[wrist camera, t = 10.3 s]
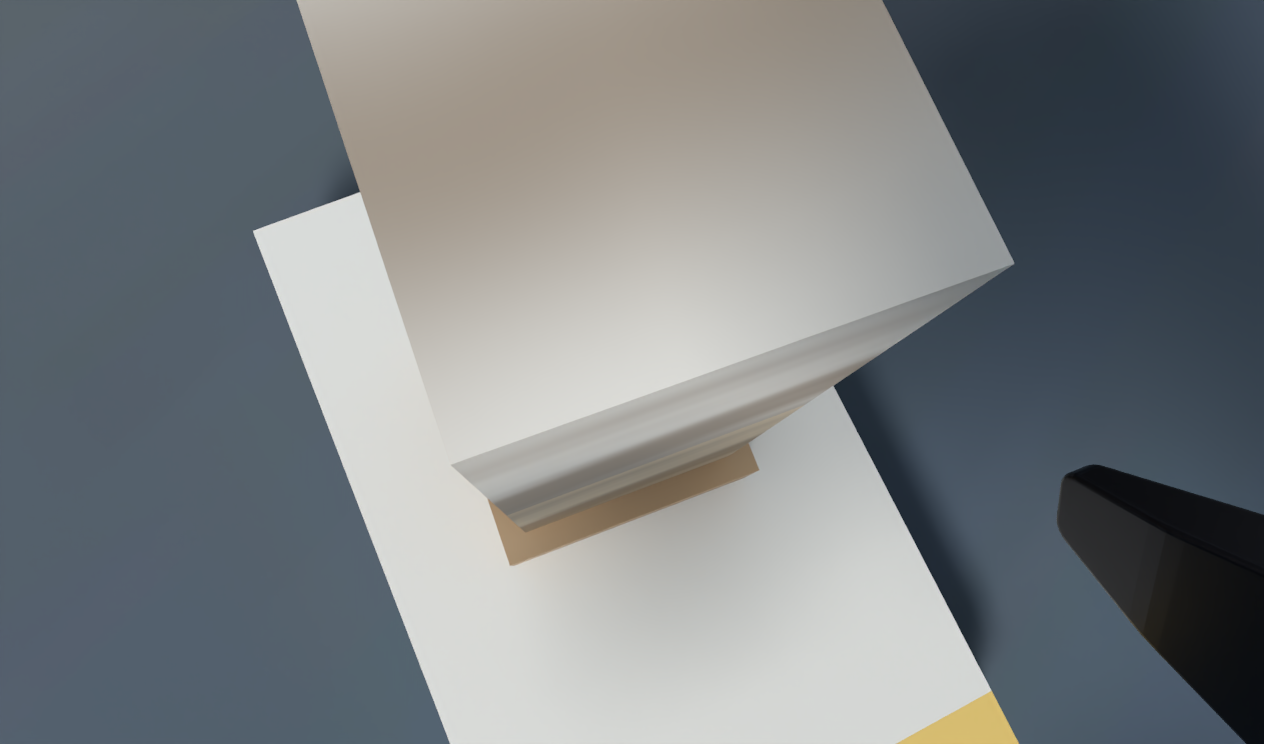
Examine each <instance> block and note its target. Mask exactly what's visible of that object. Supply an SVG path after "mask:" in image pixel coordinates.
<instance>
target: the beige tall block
mask: <svg viewBox="0 0 1264 744" xmlns="http://www.w3.org/2000/svg"><path fill="white" fill-rule="evenodd" d="M297 3H298V6H299V9H300V12H301V15H302V18H303V21H304V24H305V27H306V30H307V33H308V36H309V39H310V42H311V45H312V48H313V51H314V54H315V57H316V60H317V63H318V66H319V69H320V72H321V75H322V78H323V81H324V84H325V87H326V90H327V93H328V96H329V99H330V102H331V105H332V108H333V111H334V114H335V117H336V120H337V123H338V127H339V130H340V133H341V136H342V139H343V142H344V145H345V148H346V151H347V154H348V157H349V160H350V163H351V166H352V169H353V172H354V175H355V178H356V181H357V184H358V187H359V190H360V193H361V196H362V199H363V202H364V205H365V208H366V211H367V214H368V217H369V220H370V223H371V226H372V229H373V232H374V235H375V238H376V241H377V245H378V248H379V251H380V254H381V257H382V260H383V263H384V266H385V269H386V272H387V275H388V278H389V281H390V284H391V287H392V290H393V293H394V296H395V299H396V302H397V305H398V308H399V311H400V314H401V317H402V320H403V323H404V326H405V329H406V332H407V335H408V338H409V341H410V344H411V347H412V350H413V353H414V356H415V359H416V362H417V366H418V369H419V372H420V375H421V378H422V381H423V384H424V387H425V390H426V393H427V396H428V399H429V402H430V405H431V408H432V411H433V414H434V417H435V420H436V423H437V426H438V429H439V432H440V435H441V438H442V441H443V444H444V447H445V450H446V453H447V456H448V459H449V462H450V465H451V466H452V467H453V468H454V469H455V470H457V471H458V472H459V473H460V474H461V475H462V476H463V477H464V478H465V479H467V480H468V481H469V482H470V483H471V484H472V485H473V486H474V487H475V488H477V489H478V490H479V491H480V492H481V493H482V494H483V495H484V496H485V497H487V499H488V502H489V505H490V508H491V511H492V514H493V517H494V520H495V523H496V526H497V529H498V532H499V535H500V538H501V541H502V544H503V547H504V550H505V553H506V556H507V559H508V562H509V565H510V566H515V565H518V564H520V563H523V562H525V561H528V560H531V559H533V558H536V557H538V556H541V555H544V554H546V553H549V552H552V551H554V550H557V549H559V548H562V547H565V546H567V545H570V544H572V543H575V542H578V541H580V540H583V539H586V538H588V537H591V536H593V535H596V534H599V533H601V532H604V531H606V530H609V529H612V528H614V527H617V526H619V525H622V524H625V523H627V522H630V521H633V520H635V519H638V518H640V517H643V516H646V515H648V514H651V513H653V512H656V511H659V510H661V509H664V508H667V507H669V506H672V505H674V504H677V503H680V502H682V501H685V500H687V499H690V498H693V497H695V496H698V495H700V494H703V493H706V492H708V491H711V490H714V489H716V488H719V487H721V486H724V485H727V484H729V483H732V482H734V481H737V480H740V479H742V478H745V477H747V476H749V475H751V474H753V473H755V472H757V471H759V468H758V465H757V463H756V460H755V458H754V455H753V453H752V450H751V448H750V446H749V442H751V441H752V440H754V439H755V438H756V437H758V436H759V435H761V434H762V433H764V432H765V431H767V430H768V429H770V428H771V427H773V426H774V425H776V424H777V423H779V422H780V421H782V420H783V419H785V418H786V417H788V416H789V415H791V414H792V413H794V412H795V411H797V410H798V409H800V408H801V407H802V406H804V405H805V404H807V403H808V402H810V401H811V400H813V399H814V398H816V397H817V396H819V395H820V394H822V393H823V392H825V391H826V390H828V389H829V388H831V387H832V386H834V385H835V384H837V383H838V382H840V381H841V380H843V379H844V378H846V377H847V376H848V375H850V374H851V373H853V372H854V371H856V370H857V369H859V368H860V367H862V366H863V365H865V364H866V363H868V362H869V361H871V360H872V359H874V358H875V357H877V356H878V355H880V354H881V353H883V352H884V351H886V350H887V349H889V348H890V347H892V346H893V345H895V344H896V343H897V342H899V341H900V340H902V339H903V338H905V337H906V336H908V335H909V334H911V333H912V332H914V331H915V330H917V329H918V328H920V327H921V326H923V325H924V324H926V323H927V322H929V321H930V320H932V319H933V318H935V317H936V316H938V315H939V314H941V313H942V312H943V311H945V310H946V309H948V308H949V307H951V306H952V305H954V304H955V303H957V302H958V301H960V300H961V299H963V298H964V297H966V296H967V295H969V294H970V293H972V292H973V291H975V290H976V289H978V288H979V287H981V286H982V285H984V284H985V283H987V282H988V281H989V280H991V279H992V278H994V277H995V276H997V275H998V274H1000V273H1001V272H1003V271H1004V270H1006V269H1007V268H1009V267H1010V266H1012V265H1013V264H1015V263H1014V261H1013V259H1012V257H1011V255H1010V253H1009V251H1008V249H1007V247H1006V245H1005V243H1004V241H1003V239H1002V237H1001V235H1000V233H999V231H998V229H997V227H996V225H995V223H994V221H993V219H992V217H991V216H990V214H989V212H988V210H987V208H986V206H985V204H984V202H983V200H982V198H981V196H980V194H979V192H978V190H977V188H976V186H975V184H974V182H973V180H972V178H971V176H970V174H969V172H968V170H967V168H966V166H965V164H964V162H963V160H962V158H961V156H960V154H959V152H958V150H957V148H956V146H955V144H954V142H953V140H952V138H951V136H950V134H949V132H948V130H947V128H946V126H945V124H944V122H943V120H942V118H941V116H940V114H939V112H938V110H937V108H936V106H935V104H934V102H933V100H932V98H931V96H930V94H929V92H928V90H927V88H926V86H925V84H924V82H923V80H922V78H921V76H920V74H919V72H918V70H917V68H916V67H915V65H914V63H913V61H912V59H911V57H910V55H909V53H908V51H907V49H906V47H905V45H904V43H903V41H902V39H901V37H900V35H899V33H898V31H897V29H896V27H895V25H894V23H893V21H892V19H891V17H890V15H889V13H888V11H887V9H886V7H885V5H884V3H883V1H882V0H297Z"/></svg>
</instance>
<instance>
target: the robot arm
mask: <svg viewBox="0 0 1264 744" xmlns="http://www.w3.org/2000/svg"><path fill="white" fill-rule="evenodd" d="M1057 525H1058V528H1059V531H1060V533H1061V535H1062V537H1063V538H1064V540H1065V541H1066V542H1067V543H1068V545H1069V546H1070V547H1071V548H1072V550H1073V551H1074V552H1075V553H1076V555H1077V556H1078V557H1079V558H1080V560H1081V561H1082V562H1083V563H1084V565H1085V566H1086V567H1087V568H1088V570H1089V571H1090V572H1091V573H1092V575H1093V576H1094V577H1095V578H1096V580H1097V581H1098V582H1099V583H1100V585H1101V586H1102V587H1103V588H1104V590H1105V591H1106V592H1107V593H1108V595H1109V596H1110V597H1111V598H1112V600H1113V601H1114V602H1115V603H1116V605H1117V606H1118V607H1119V608H1120V610H1121V611H1122V612H1123V613H1124V615H1125V616H1126V617H1127V618H1128V620H1129V621H1130V622H1131V623H1132V624H1133V625H1134V627H1135V628H1136V629H1137V630H1138V631H1139V632H1140V634H1141V635H1142V636H1143V637H1144V638H1145V639H1146V640H1147V641H1148V642H1149V643H1150V645H1151V646H1152V647H1153V648H1154V649H1155V650H1156V651H1157V652H1158V653H1159V654H1160V655H1161V656H1162V657H1163V658H1164V659H1165V660H1166V661H1167V662H1168V663H1169V664H1170V666H1171V667H1172V668H1173V669H1174V670H1175V671H1176V672H1177V673H1178V674H1179V675H1180V676H1181V677H1182V678H1183V679H1184V680H1185V681H1186V682H1187V683H1188V684H1189V685H1190V686H1191V687H1192V688H1193V689H1194V690H1195V691H1196V692H1197V693H1198V694H1199V695H1200V696H1201V698H1202V699H1203V700H1204V701H1205V702H1206V703H1207V704H1208V705H1209V706H1210V707H1211V708H1212V709H1213V710H1214V711H1215V712H1216V713H1217V714H1218V715H1219V716H1220V717H1221V718H1222V719H1223V720H1224V721H1225V722H1226V723H1227V724H1228V725H1229V726H1230V727H1231V729H1232V730H1233V731H1234V732H1235V733H1236V734H1237V735H1238V736H1239V737H1240V738H1241V739H1242V740H1243V741H1244V742H1245V743H1246V744H1264V515H1263V514H1259V513H1256V512H1253V511H1249V510H1246V509H1243V508H1240V507H1236V506H1233V505H1230V504H1226V503H1223V502H1220V501H1216V500H1213V499H1210V498H1207V497H1203V496H1200V495H1197V494H1193V493H1190V492H1187V491H1184V490H1180V489H1177V488H1174V487H1170V486H1167V485H1164V484H1161V483H1157V482H1154V481H1151V480H1147V479H1144V478H1141V477H1138V476H1134V475H1131V474H1128V473H1124V472H1121V471H1118V470H1115V469H1111V468H1108V467H1105V466H1101V465H1088V466H1085V467H1082V468H1080V469H1077V470H1075V471H1073V472H1070V473H1068V474H1066V475H1065V476H1064V477H1063V479H1062V482H1061V487H1060V495H1059V503H1058V511H1057Z"/></svg>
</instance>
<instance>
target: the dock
mask: <svg viewBox="0 0 1264 744" xmlns="http://www.w3.org/2000/svg"><path fill="white" fill-rule="evenodd" d="M253 232H254V235H255V238H256V240H257V243H258V245H259V248H260V251H261V253H262V256H263V258H264V261H265V264H266V266H267V269H268V271H269V274H270V277H271V279H272V282H273V284H274V287H275V290H276V292H277V295H278V297H279V300H280V303H281V305H282V308H283V310H284V313H285V316H286V318H287V321H288V323H289V326H290V329H291V331H292V334H293V336H294V339H295V342H296V344H297V347H298V349H299V352H300V355H301V357H302V360H303V362H304V365H305V368H306V370H307V373H308V375H309V378H310V381H311V383H312V386H313V388H314V391H315V394H316V396H317V399H318V401H319V404H320V407H321V409H322V412H323V414H324V417H325V420H326V422H327V425H328V427H329V430H330V432H331V435H332V438H333V440H334V443H335V445H336V448H337V451H338V453H339V456H340V458H341V461H342V464H343V466H344V469H345V471H346V474H347V477H348V479H349V482H350V484H351V487H352V490H353V492H354V495H355V497H356V500H357V503H358V505H359V508H360V510H361V513H362V516H363V518H364V521H365V523H366V526H367V529H368V531H369V534H370V536H371V539H372V542H373V544H374V547H375V549H376V552H377V555H378V557H379V560H380V562H381V565H382V568H383V570H384V573H385V575H386V578H387V581H388V583H389V586H390V588H391V591H392V594H393V596H394V599H395V601H396V604H397V607H398V609H399V612H400V614H401V617H402V620H403V622H404V625H405V627H406V630H407V633H408V635H409V638H410V640H411V643H412V645H413V648H414V651H415V653H416V656H417V658H418V661H419V664H420V666H421V669H422V671H423V674H424V677H425V679H426V682H427V684H428V687H429V690H430V692H431V695H432V697H433V700H434V703H435V705H436V708H437V710H438V713H439V716H440V718H441V721H442V723H443V726H444V729H445V731H446V734H447V736H448V739H449V742H450V744H1019V743H1018V741H1017V739H1016V737H1015V735H1014V733H1013V731H1012V729H1011V727H1010V726H1009V724H1008V722H1007V720H1006V718H1005V716H1004V714H1003V712H1002V710H1001V708H1000V706H999V704H998V702H997V700H996V699H995V697H994V695H993V693H992V691H991V689H990V687H989V685H988V683H987V681H986V679H985V677H984V675H983V673H982V672H981V670H980V668H979V666H978V664H977V662H976V660H975V658H974V656H973V654H972V652H971V650H970V648H969V646H968V645H967V643H966V641H965V639H964V637H963V635H962V633H961V631H960V629H959V627H958V625H957V623H956V621H955V619H954V618H953V616H952V614H951V612H950V610H949V608H948V606H947V604H946V602H945V600H944V598H943V596H942V594H941V592H940V591H939V589H938V587H937V585H936V583H935V581H934V579H933V577H932V575H931V573H930V571H929V569H928V567H927V565H926V564H925V562H924V560H923V558H922V556H921V554H920V552H919V550H918V548H917V546H916V544H915V542H914V540H913V538H912V537H911V535H910V533H909V531H908V529H907V527H906V525H905V523H904V521H903V519H902V517H901V515H900V513H899V511H898V510H897V508H896V506H895V504H894V502H893V500H892V498H891V496H890V494H889V492H888V490H887V488H886V486H885V484H884V482H883V481H882V479H881V477H880V475H879V473H878V471H877V469H876V467H875V465H874V463H873V461H872V459H871V457H870V455H869V454H868V452H867V450H866V448H865V446H864V444H863V442H862V440H861V438H860V436H859V434H858V432H857V430H856V428H855V427H854V425H853V423H852V421H851V419H850V417H849V415H848V413H847V411H846V409H845V407H844V405H843V403H842V401H841V400H840V398H839V396H838V394H837V392H836V390H835V388H834V386H832V387H831V388H829V389H828V390H826V391H825V392H823V393H822V394H820V395H819V396H817V397H816V398H814V399H813V400H811V401H810V402H808V403H807V404H805V405H804V406H802V407H801V408H800V409H798V410H797V411H795V412H794V413H792V414H791V415H789V416H788V417H786V418H785V419H783V420H782V421H780V422H779V423H777V424H776V425H774V426H773V427H771V428H770V429H768V430H767V431H765V432H764V433H762V434H761V435H759V436H758V437H756V438H755V439H754V440H752V441H751V442H749V446H750V448H751V450H752V453H753V455H754V458H755V460H756V463H757V465H758V468H759V471H757V472H755V473H753V474H751V475H749V476H747V477H745V478H742V479H740V480H737V481H734V482H732V483H729V484H727V485H724V486H721V487H719V488H716V489H714V490H711V491H708V492H706V493H703V494H700V495H698V496H695V497H693V498H690V499H687V500H685V501H682V502H680V503H677V504H674V505H672V506H669V507H667V508H664V509H661V510H659V511H656V512H653V513H651V514H648V515H646V516H643V517H640V518H638V519H635V520H633V521H630V522H627V523H625V524H622V525H619V526H617V527H614V528H612V529H609V530H606V531H604V532H601V533H599V534H596V535H593V536H591V537H588V538H586V539H583V540H580V541H578V542H575V543H572V544H570V545H567V546H565V547H562V548H559V549H557V550H554V551H552V552H549V553H546V554H544V555H541V556H538V557H536V558H533V559H531V560H528V561H525V562H523V563H520V564H518V565H515V566H510V565H509V562H508V559H507V556H506V553H505V550H504V547H503V544H502V541H501V538H500V535H499V532H498V529H497V526H496V523H495V520H494V517H493V514H492V511H491V508H490V505H489V502H488V499H487V497H485V496H484V495H483V494H482V493H481V492H480V491H479V490H478V489H477V488H475V487H474V486H473V485H472V484H471V483H470V482H469V481H468V480H467V479H465V478H464V477H463V476H462V475H461V474H460V473H459V472H458V471H457V470H455V469H454V468H453V467H452V466H451V465H450V462H449V459H448V456H447V453H446V450H445V447H444V444H443V441H442V438H441V435H440V432H439V429H438V426H437V423H436V420H435V417H434V414H433V411H432V408H431V405H430V402H429V399H428V396H427V393H426V390H425V387H424V384H423V381H422V378H421V375H420V372H419V369H418V366H417V362H416V359H415V356H414V353H413V350H412V347H411V344H410V341H409V338H408V335H407V332H406V329H405V326H404V323H403V320H402V317H401V314H400V311H399V308H398V305H397V302H396V299H395V296H394V293H393V290H392V287H391V284H390V281H389V278H388V275H387V272H386V269H385V266H384V263H383V260H382V257H381V254H380V251H379V248H378V245H377V241H376V238H375V235H374V232H373V229H372V226H371V223H370V220H369V217H368V214H367V211H366V208H365V205H364V202H363V199H362V196H361V193H360V192H359V193H356V194H354V195H351V196H348V197H345V198H343V199H340V200H337V201H334V202H332V203H329V204H326V205H323V206H321V207H318V208H315V209H312V210H310V211H307V212H304V213H301V214H299V215H296V216H293V217H290V218H287V219H285V220H282V221H279V222H276V223H274V224H271V225H268V226H265V227H263V228H260V229H257V230H254V231H253Z"/></svg>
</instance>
